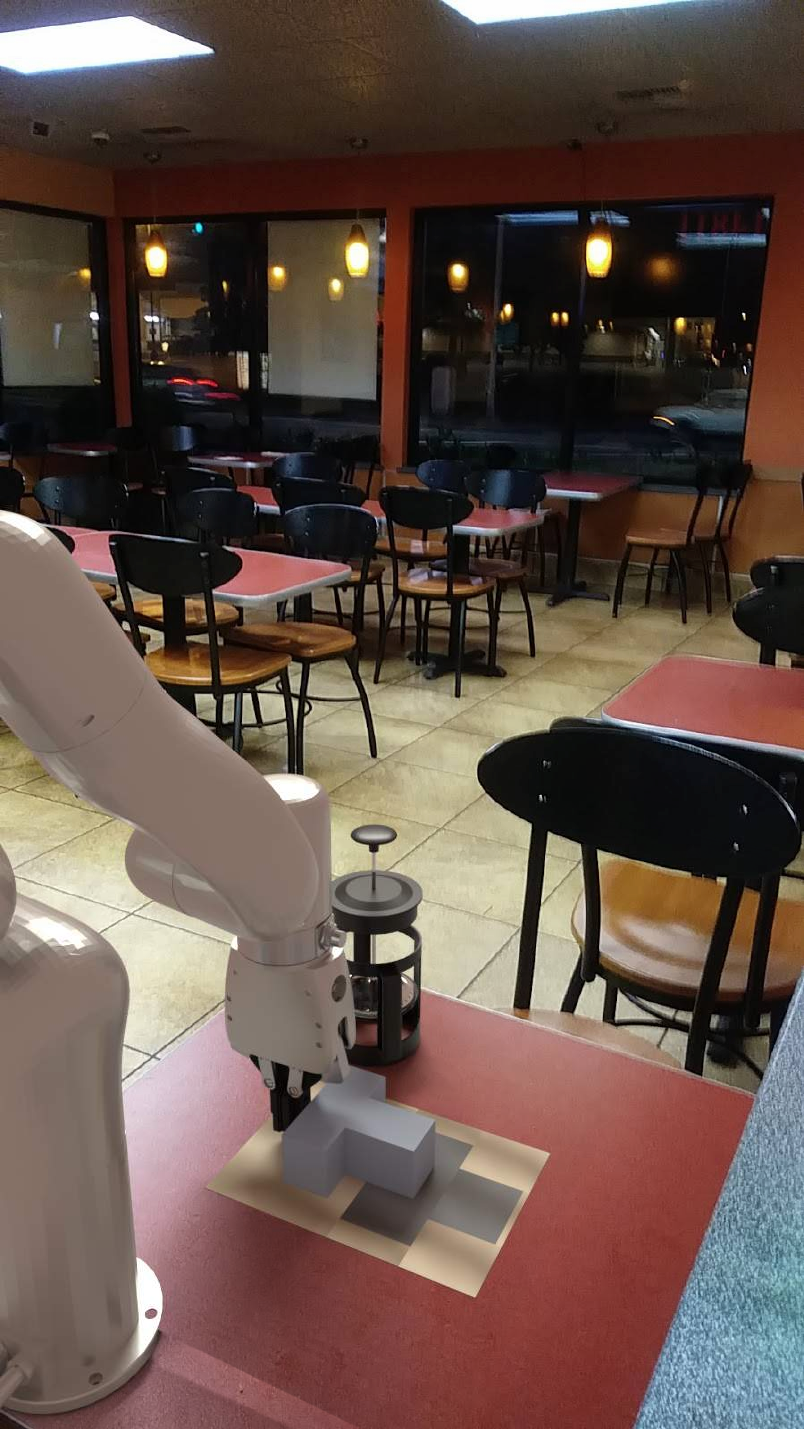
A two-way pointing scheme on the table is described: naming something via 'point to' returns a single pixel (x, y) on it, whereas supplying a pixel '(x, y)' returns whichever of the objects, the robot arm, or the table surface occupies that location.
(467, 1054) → the table surface
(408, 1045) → the french press
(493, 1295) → the table surface
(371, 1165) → the t block
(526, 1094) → the table surface
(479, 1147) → the board
